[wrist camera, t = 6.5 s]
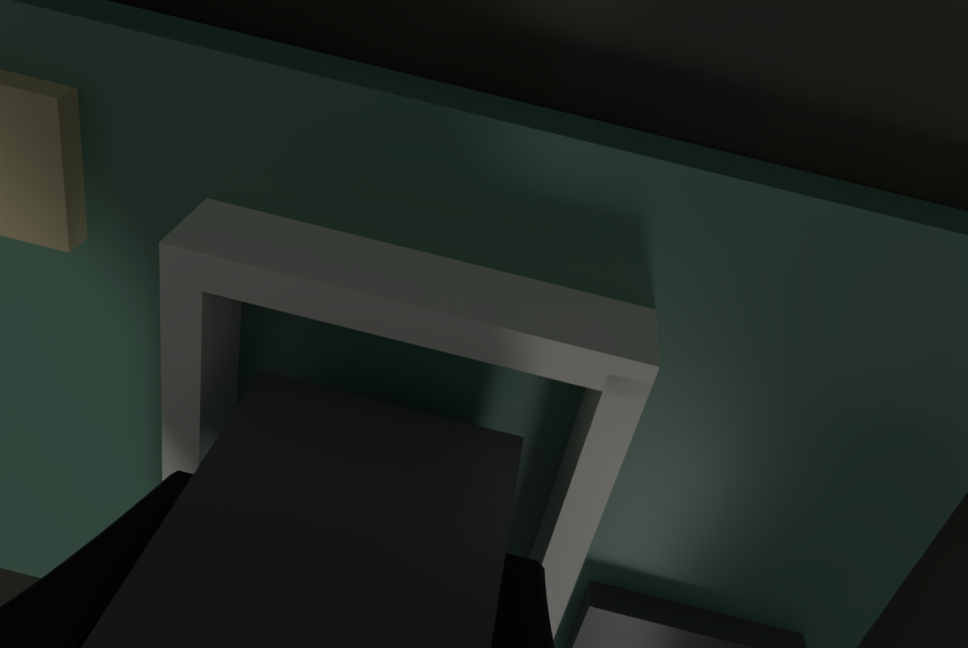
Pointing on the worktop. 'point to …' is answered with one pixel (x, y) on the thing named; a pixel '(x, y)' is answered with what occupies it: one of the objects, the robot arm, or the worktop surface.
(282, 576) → the plug
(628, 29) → the worktop surface
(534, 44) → the worktop surface
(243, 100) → the board
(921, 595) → the worktop surface
